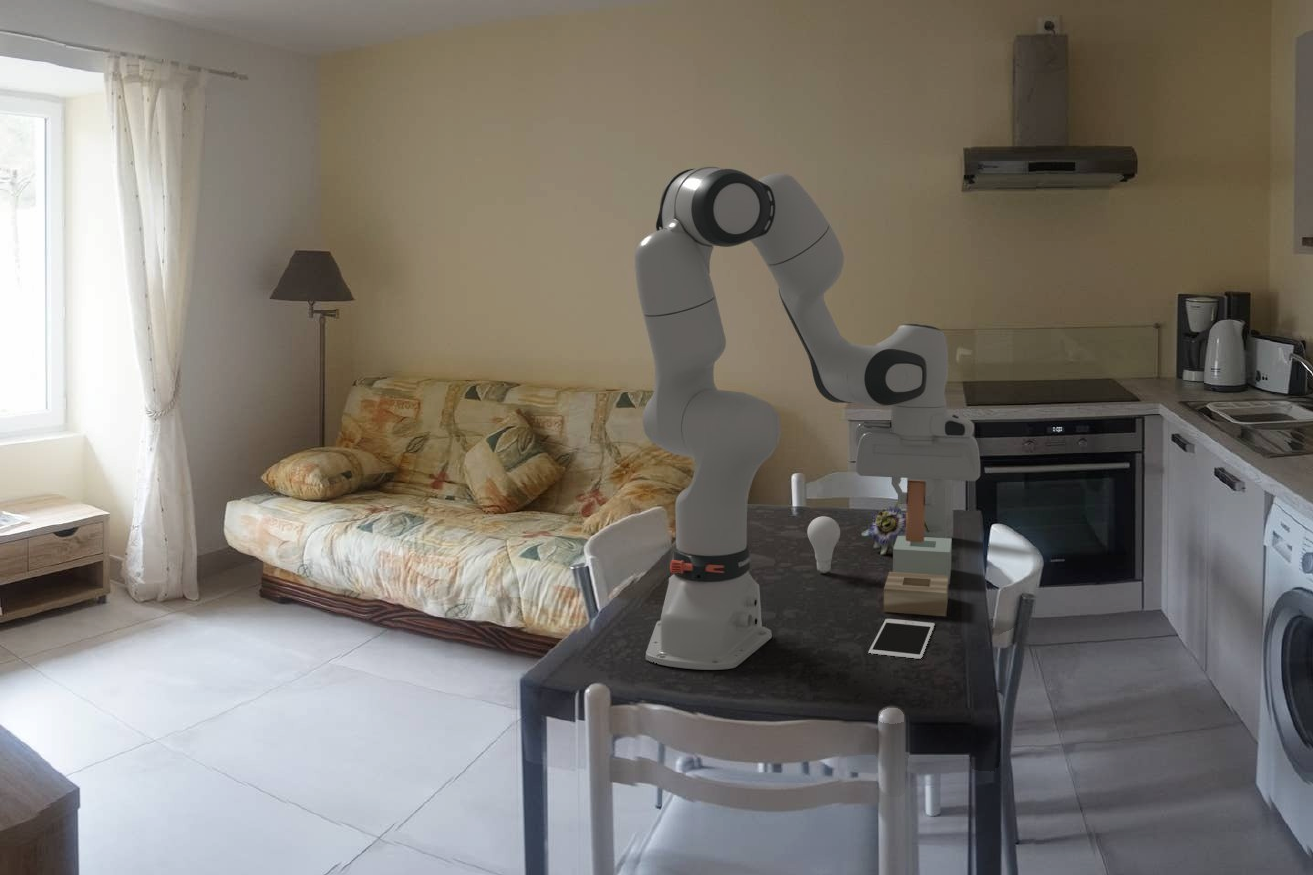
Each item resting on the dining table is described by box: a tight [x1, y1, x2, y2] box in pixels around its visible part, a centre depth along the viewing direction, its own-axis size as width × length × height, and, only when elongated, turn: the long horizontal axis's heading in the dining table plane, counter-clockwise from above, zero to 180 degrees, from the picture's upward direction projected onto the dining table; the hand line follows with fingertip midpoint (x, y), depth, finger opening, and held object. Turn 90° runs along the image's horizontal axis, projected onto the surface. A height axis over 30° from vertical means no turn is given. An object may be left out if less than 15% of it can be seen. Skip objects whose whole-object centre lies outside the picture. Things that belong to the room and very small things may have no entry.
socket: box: [892, 536, 952, 585], centre depth 185 cm, size 10×10×6 cm
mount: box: [883, 571, 949, 617], centre depth 168 cm, size 10×10×4 cm
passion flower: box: [860, 502, 930, 556], centre depth 202 cm, size 11×11×12 cm
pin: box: [905, 480, 926, 542], centre depth 166 cm, size 3×3×10 cm
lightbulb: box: [806, 515, 841, 574], centre depth 188 cm, size 6×6×11 cm
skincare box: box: [906, 478, 954, 539], centre depth 210 cm, size 8×7×16 cm
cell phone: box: [867, 618, 936, 660], centre depth 153 cm, size 8×16×1 cm, turn 158°
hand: (915, 504), depth 166 cm, fingers closed on pin, 3 cm apart
